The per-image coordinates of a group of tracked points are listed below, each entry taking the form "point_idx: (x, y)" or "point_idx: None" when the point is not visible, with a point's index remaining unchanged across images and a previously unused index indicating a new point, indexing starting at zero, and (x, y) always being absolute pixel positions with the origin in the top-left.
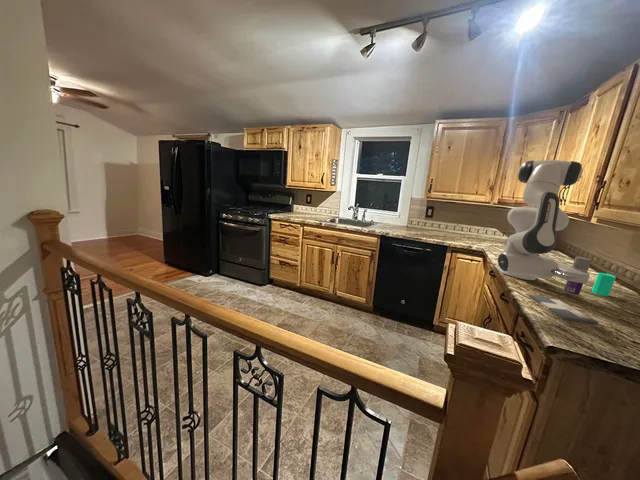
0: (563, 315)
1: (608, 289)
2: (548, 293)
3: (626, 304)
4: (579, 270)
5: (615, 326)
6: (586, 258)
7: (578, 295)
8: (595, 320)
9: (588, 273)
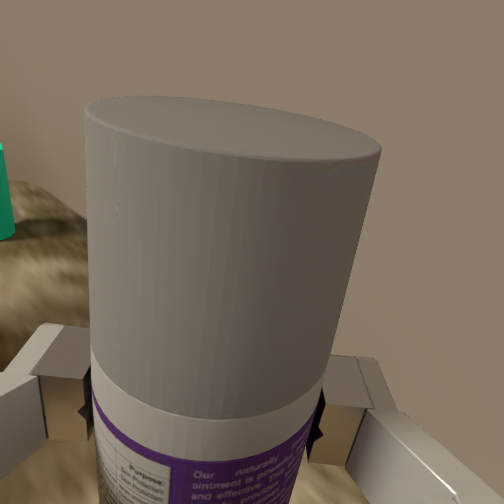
0: None
1: (8, 205)
2: None
3: (86, 236)
4: (304, 416)
5: (343, 468)
6: (213, 104)
7: None
8: None
9: (376, 369)
